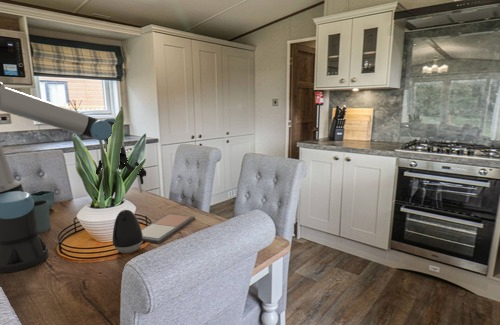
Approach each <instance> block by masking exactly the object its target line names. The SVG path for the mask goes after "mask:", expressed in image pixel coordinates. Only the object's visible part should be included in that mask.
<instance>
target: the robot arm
mask: <svg viewBox="0 0 500 325" xmlns="http://www.w3.org/2000/svg"><path fill="white" fill-rule="evenodd" d="M0 112H4V113H7V114H12V115H14V116H18V117H21V118H24V119H27V120H31V121H34V122H37V123H41V124H44V125H47V126H52V127H55V128H58V129H61V130H65V131H67V132H71V135H73V133H76V134H77V136H76V137H79V138H81V137H82V138H87V139H92V140H97V141H103V143H104V147H105V153H106V152H107V144H108V138H109V137H110V136H111V134H112V125H113V124H114V122H115V119H116V118H106V119H104V120H103V119H98V118H95V117H93V116H90V115H87V114H83V113H81V112H78V111H75V110H72V109H69V108H66V107H64V106H61V105H58V104H55V103H52V102H50V101H46V100H43V99H40V98H38V97H35V96H33V95H29V94H26V93H24V92H20V91H18V90H15V89H13V88H9V87H6V86H5V84H4V83H3V82H1V81H0ZM127 159H128V156H127V152H126V146H125V141H124V140H123V144H122V148H121V153H120V165H119V170H118V171H122V170H124V169H123V168H124V167H125V166H126V167H127V169H128V170H129V171H128V170H127V171H128V172H130V173H131V172H132V171H133V170H134V169H136V167H135V166H138V165H139V164H140V163H139V162H138V161H137V162H136V163H135V166H134V167H133V166H132V165H130V163H129V162H128V163H127V161H128V160H127ZM124 163H125V164H124ZM101 168H102V163H101V159H100V160H98V165H97V167H96V169H95V171H96V174H97V175H98V172H99V171H101ZM140 170H141V171H139V174H137V175H138V176H136V178H137V184H138V188H139V194H140V193H141V194H142V193H143V186H142V185H144V177H146V176H147V170H146V169H145V168H144V167H143V166H142V169H140ZM101 172H102V171H101ZM31 194H32V193H29V192H26V191H25V190H24V187H23V184H22V182H21V181H19V180H16V179H15V178H14V175H13V173H12V169H11V167H10V164H9V162H8V158H7V156H6V155H5V151H4V149H3V146H2V143H1V142H0V273H4V274H5V273H14V272H19V271H23V270H27V269H29V268H32V267H34V266H37V265H39V264H40V263H42V262H44V261H45V260H46V259H47V258H48V257H49V250H48V247H47V245H46V244H45V242H44V241H43V239H42V237H41V236H40V233H39V232H38V226H37V220H36V215H35V209H34V200H33V198H32V196H31ZM104 194H105V191H104V192H103V194H102V193H101V195H102V198H103V197H104V198H105V199H106V196H105V195H104Z"/></svg>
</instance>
